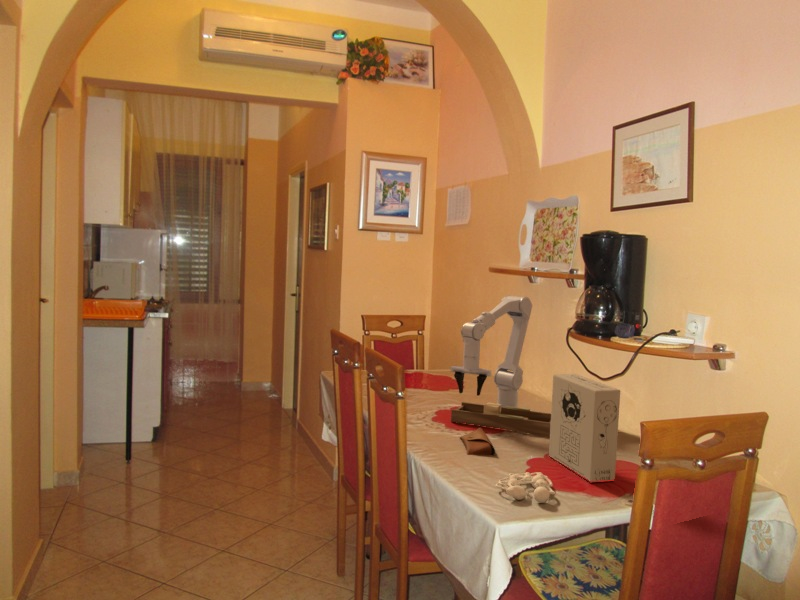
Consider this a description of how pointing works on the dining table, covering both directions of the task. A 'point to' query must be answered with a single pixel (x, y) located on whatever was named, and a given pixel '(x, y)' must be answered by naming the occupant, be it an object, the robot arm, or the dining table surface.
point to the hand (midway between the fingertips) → (469, 393)
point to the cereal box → (584, 426)
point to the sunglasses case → (478, 443)
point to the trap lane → (504, 418)
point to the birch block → (492, 409)
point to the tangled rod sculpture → (537, 482)
